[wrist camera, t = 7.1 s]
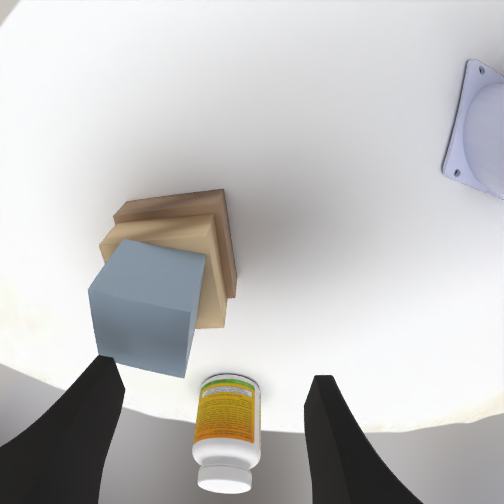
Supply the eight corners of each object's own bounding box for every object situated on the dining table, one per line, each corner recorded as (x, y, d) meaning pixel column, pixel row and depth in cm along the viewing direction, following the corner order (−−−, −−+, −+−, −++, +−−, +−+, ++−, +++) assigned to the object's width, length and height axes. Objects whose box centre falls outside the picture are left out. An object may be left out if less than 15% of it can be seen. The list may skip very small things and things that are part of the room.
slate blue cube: (206, 254, 14) (190, 312, 11) (197, 318, 16) (184, 378, 13) (123, 238, 14) (87, 289, 11) (125, 303, 16) (99, 358, 13)
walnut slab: (224, 187, 18) (219, 202, 16) (237, 274, 21) (235, 298, 19) (128, 199, 18) (113, 216, 16) (151, 280, 21) (141, 302, 19)
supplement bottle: (189, 379, 26) (173, 478, 18) (244, 366, 25) (240, 474, 17) (219, 409, 29) (211, 497, 20) (269, 398, 28) (271, 492, 19)
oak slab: (213, 213, 16) (207, 235, 14) (227, 298, 19) (223, 327, 17) (117, 223, 16) (98, 245, 14) (142, 302, 19) (130, 329, 17)
